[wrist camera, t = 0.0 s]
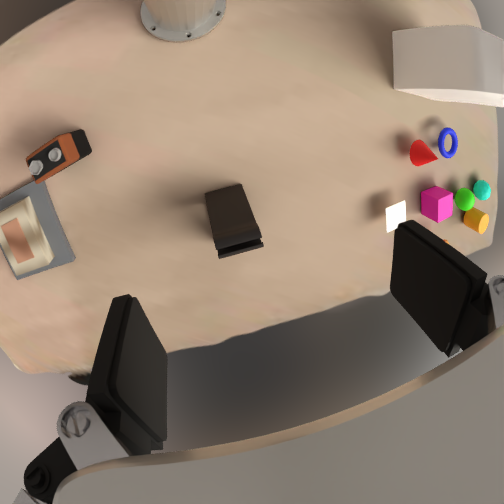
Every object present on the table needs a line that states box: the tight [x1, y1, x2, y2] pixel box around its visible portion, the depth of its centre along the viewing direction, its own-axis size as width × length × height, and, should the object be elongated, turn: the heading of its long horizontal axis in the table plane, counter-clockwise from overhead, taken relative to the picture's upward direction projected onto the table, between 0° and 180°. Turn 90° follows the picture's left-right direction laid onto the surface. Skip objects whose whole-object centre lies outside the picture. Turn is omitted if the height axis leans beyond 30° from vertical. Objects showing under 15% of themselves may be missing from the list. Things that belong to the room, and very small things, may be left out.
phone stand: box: [205, 184, 264, 259], centre depth 42 cm, size 9×6×12 cm, turn 11°
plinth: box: [0, 196, 55, 276], centre depth 38 cm, size 12×9×3 cm
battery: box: [26, 130, 92, 184], centre depth 32 cm, size 4×7×10 cm, turn 107°
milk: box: [392, 25, 504, 107], centre depth 28 cm, size 12×12×26 cm
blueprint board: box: [0, 181, 76, 280], centre depth 40 cm, size 16×16×1 cm
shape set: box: [386, 128, 491, 244], centre depth 50 cm, size 29×35×7 cm
